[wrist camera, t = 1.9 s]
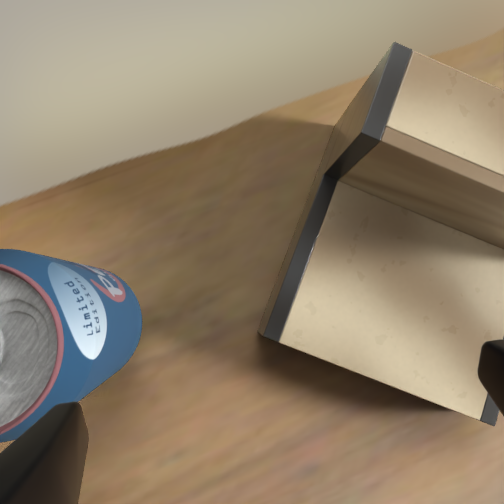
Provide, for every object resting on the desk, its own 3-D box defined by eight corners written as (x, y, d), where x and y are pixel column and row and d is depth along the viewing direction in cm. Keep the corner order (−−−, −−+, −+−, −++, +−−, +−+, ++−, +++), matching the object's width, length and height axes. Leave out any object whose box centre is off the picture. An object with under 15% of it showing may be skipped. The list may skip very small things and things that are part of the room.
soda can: (146, 267, 24) (82, 240, 13) (145, 377, 24) (76, 459, 12) (34, 268, 24) (-145, 242, 12) (29, 382, 23) (-168, 474, 11)
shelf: (462, 411, 25) (595, 474, 17) (256, 331, 25) (280, 351, 16) (522, 204, 28) (668, 161, 19) (334, 125, 27) (394, 41, 18)
